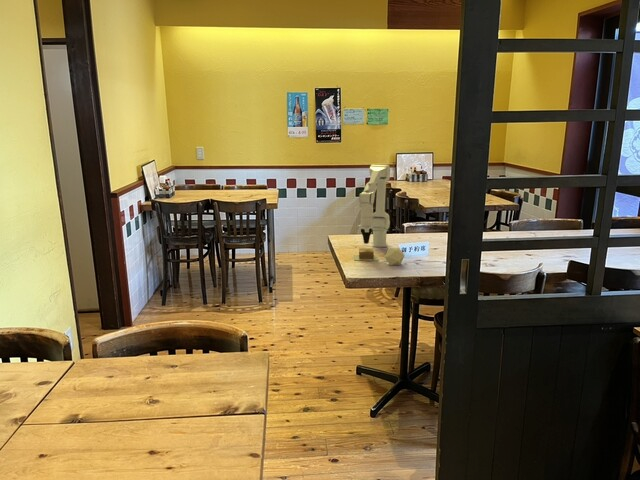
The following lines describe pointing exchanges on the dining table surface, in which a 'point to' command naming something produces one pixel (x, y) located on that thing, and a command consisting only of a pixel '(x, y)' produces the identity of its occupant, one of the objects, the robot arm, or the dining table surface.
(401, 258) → the die
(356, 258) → the mat
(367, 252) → the walnut block
